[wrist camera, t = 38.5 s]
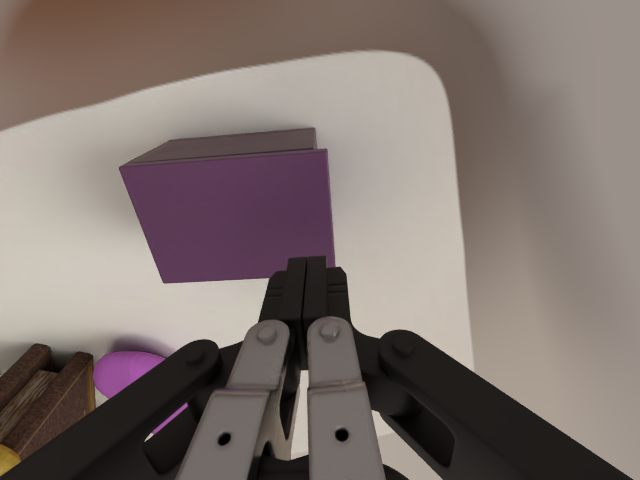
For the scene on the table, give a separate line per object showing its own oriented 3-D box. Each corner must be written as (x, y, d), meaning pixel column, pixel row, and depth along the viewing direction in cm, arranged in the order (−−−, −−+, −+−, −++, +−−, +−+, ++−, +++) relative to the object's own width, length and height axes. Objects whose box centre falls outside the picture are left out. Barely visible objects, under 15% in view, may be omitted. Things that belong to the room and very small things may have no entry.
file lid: (327, 148, 19) (327, 151, 18) (335, 268, 23) (335, 275, 22) (125, 163, 19) (117, 167, 19) (167, 277, 24) (162, 284, 23)
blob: (94, 339, 36) (62, 377, 31) (186, 321, 35) (166, 359, 30) (155, 416, 42) (136, 457, 38) (234, 404, 41) (223, 445, 37)
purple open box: (315, 127, 25) (313, 147, 19) (323, 225, 29) (324, 266, 23) (170, 139, 25) (125, 163, 20) (198, 234, 29) (168, 277, 24)
